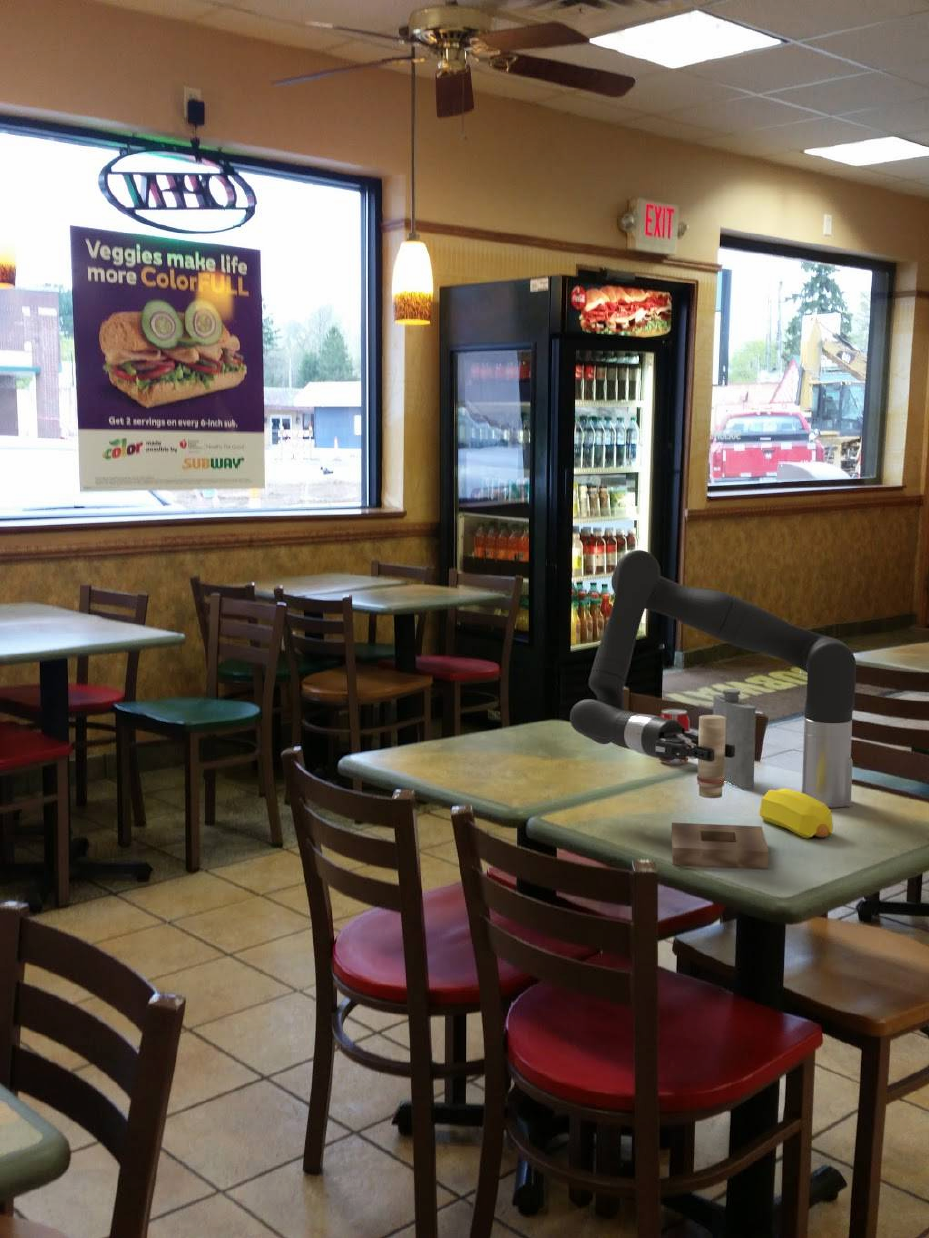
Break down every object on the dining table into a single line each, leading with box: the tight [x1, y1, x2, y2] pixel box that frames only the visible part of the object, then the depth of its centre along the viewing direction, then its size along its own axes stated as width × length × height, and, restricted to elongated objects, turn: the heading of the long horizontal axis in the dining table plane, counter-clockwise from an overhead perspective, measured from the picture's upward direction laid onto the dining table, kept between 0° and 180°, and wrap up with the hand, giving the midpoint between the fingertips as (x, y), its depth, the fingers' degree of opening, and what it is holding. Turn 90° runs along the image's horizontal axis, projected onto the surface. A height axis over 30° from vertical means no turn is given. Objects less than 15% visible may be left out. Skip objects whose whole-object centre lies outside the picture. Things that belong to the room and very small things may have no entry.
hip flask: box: [712, 688, 757, 790], centre depth 265 cm, size 16×4×20 cm, turn 15°
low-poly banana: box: [758, 787, 834, 839], centre depth 231 cm, size 18×7×8 cm
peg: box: [696, 714, 726, 799], centre depth 216 cm, size 5×5×14 cm
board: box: [671, 822, 770, 870], centre depth 216 cm, size 16×15×3 cm
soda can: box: [658, 708, 691, 766], centre depth 282 cm, size 7×7×12 cm
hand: (723, 753), depth 214 cm, fingers closed on peg, 4 cm apart
